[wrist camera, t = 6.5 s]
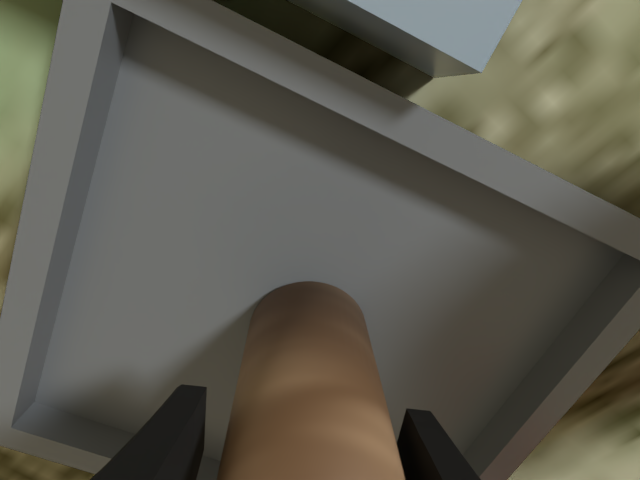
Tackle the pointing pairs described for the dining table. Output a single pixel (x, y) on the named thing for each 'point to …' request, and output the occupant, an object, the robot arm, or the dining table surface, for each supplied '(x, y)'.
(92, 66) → the grey tray
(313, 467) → the walnut dowel
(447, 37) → the frame
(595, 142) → the dining table surface
